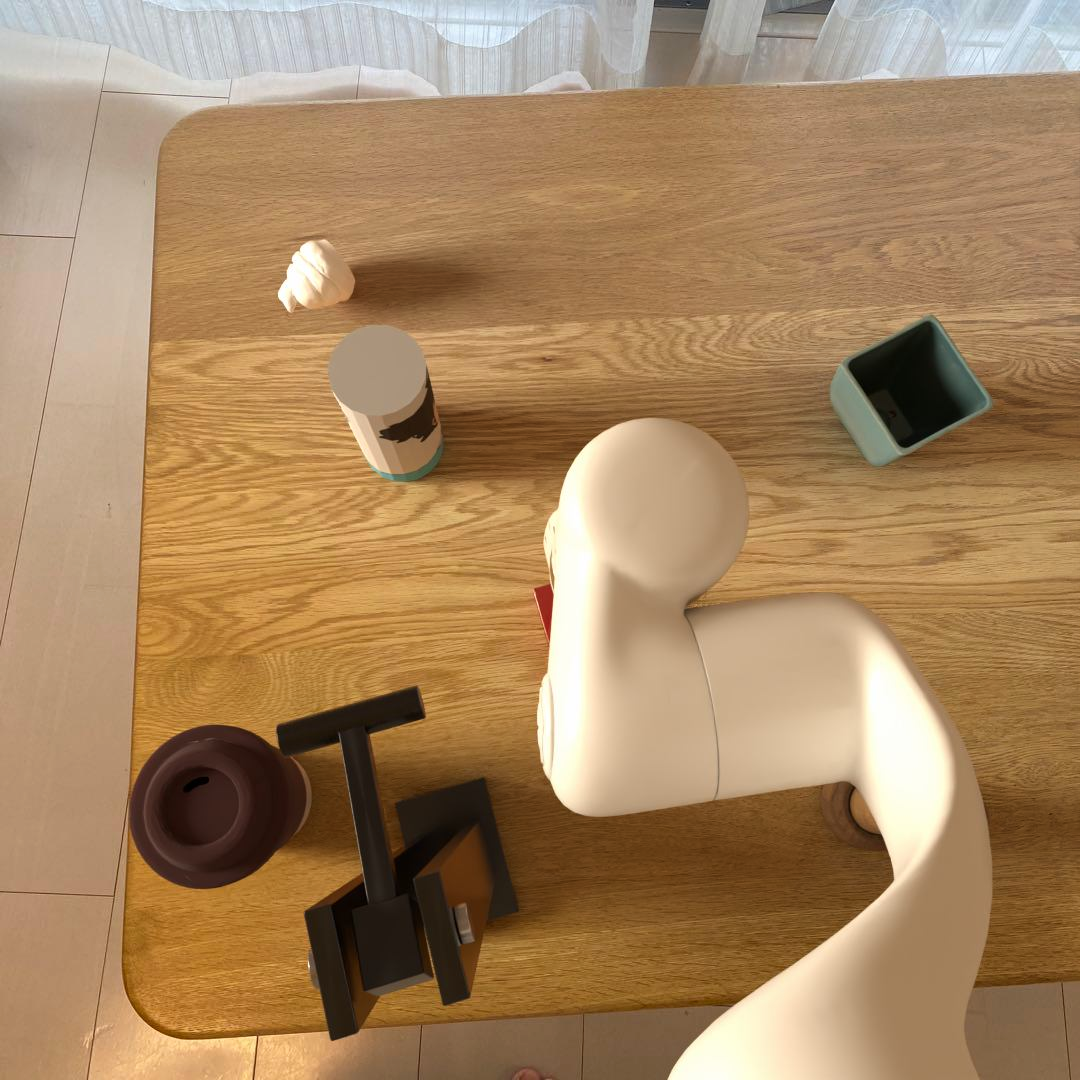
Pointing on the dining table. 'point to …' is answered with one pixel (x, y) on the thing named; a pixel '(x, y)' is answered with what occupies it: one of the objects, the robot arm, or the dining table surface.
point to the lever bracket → (420, 901)
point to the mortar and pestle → (854, 816)
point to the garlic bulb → (316, 277)
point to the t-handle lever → (371, 836)
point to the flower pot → (906, 392)
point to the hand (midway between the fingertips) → (595, 617)
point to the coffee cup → (216, 806)
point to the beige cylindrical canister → (388, 401)
